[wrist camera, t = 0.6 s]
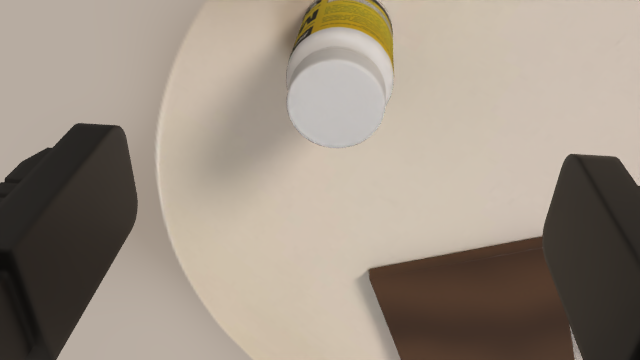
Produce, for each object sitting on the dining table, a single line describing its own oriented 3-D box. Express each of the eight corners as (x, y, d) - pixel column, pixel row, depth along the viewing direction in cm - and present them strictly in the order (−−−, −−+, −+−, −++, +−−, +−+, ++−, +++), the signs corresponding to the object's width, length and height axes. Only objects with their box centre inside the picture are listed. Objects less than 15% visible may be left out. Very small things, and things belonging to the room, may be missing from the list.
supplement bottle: (309, -23, 28) (285, 37, 21) (402, -4, 28) (409, 61, 21) (295, 66, 31) (270, 145, 24) (380, 83, 31) (380, 166, 24)
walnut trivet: (369, 268, 39) (369, 279, 38) (553, 234, 36) (557, 244, 35) (411, 377, 45) (412, 388, 44) (572, 356, 42) (576, 367, 41)
